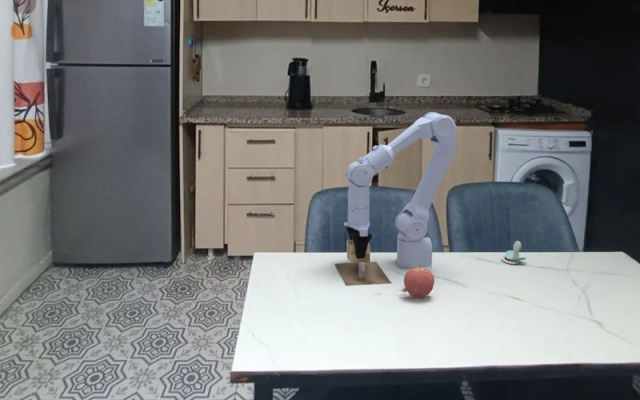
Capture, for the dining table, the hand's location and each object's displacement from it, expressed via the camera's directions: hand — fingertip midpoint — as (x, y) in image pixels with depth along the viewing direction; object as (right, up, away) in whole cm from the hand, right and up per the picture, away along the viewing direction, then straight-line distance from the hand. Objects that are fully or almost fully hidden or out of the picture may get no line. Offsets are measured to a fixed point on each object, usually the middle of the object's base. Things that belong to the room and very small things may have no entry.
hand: (358, 254), depth 185 cm
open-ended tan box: (0, -1, 0) cm, 1 cm away
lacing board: (+1, -6, -4) cm, 7 cm away
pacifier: (+45, -3, +11) cm, 47 cm away
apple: (+14, -9, -17) cm, 24 cm away
